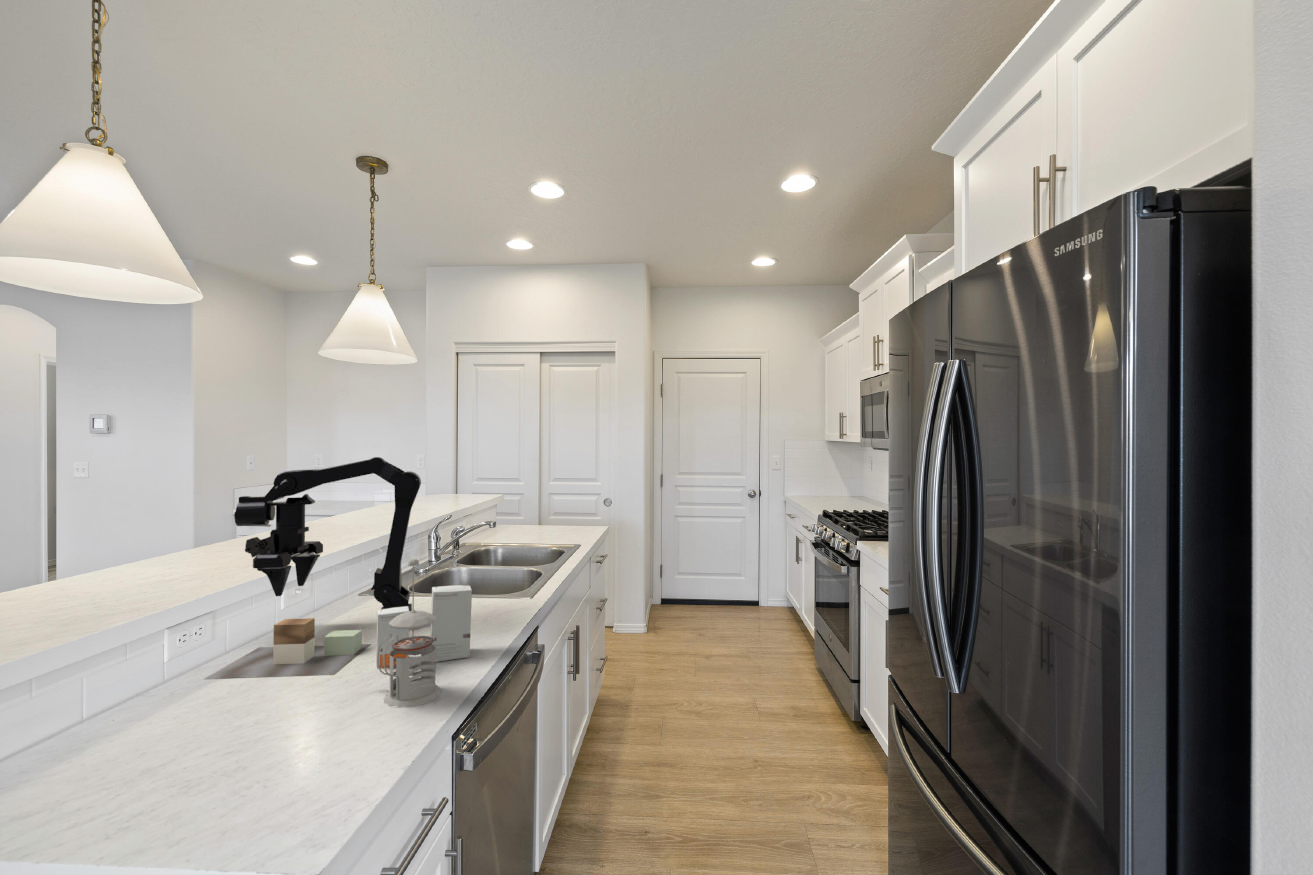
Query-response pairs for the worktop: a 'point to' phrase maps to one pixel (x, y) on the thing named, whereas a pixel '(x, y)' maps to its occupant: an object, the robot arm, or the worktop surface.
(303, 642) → the walnut brick
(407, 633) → the skincare box
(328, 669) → the slate board
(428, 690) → the french press
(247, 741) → the worktop surface
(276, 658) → the cream brick
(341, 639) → the sage brick
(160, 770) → the worktop surface
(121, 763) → the worktop surface
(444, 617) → the skincare box
